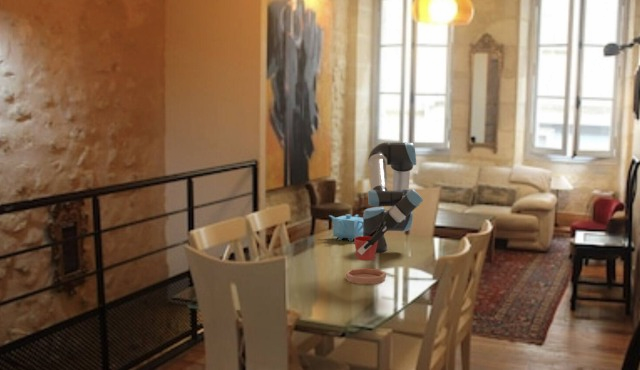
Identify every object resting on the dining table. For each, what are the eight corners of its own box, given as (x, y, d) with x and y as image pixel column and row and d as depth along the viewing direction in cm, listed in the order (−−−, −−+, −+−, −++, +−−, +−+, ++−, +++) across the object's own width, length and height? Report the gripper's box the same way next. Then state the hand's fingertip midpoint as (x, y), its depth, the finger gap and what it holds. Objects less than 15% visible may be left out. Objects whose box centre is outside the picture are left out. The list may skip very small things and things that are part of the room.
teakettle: (367, 241, 399) (368, 216, 397) (337, 242, 394) (337, 217, 392) (357, 234, 417) (357, 211, 415) (328, 236, 412) (328, 212, 410)
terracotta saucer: (372, 272, 328) (372, 266, 328) (392, 281, 312) (392, 275, 312) (339, 276, 321) (339, 270, 320) (357, 286, 304) (358, 280, 304)
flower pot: (376, 262, 309) (376, 241, 307) (352, 261, 311) (352, 240, 310) (379, 256, 319) (379, 236, 318) (356, 255, 321) (356, 235, 320)
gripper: (400, 227, 300) (365, 261, 303) (398, 218, 323) (365, 250, 326) (388, 215, 300) (353, 249, 303) (387, 207, 323) (354, 239, 326)
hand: (359, 250), depth 315 cm, fingers closed on flower pot, 10 cm apart
